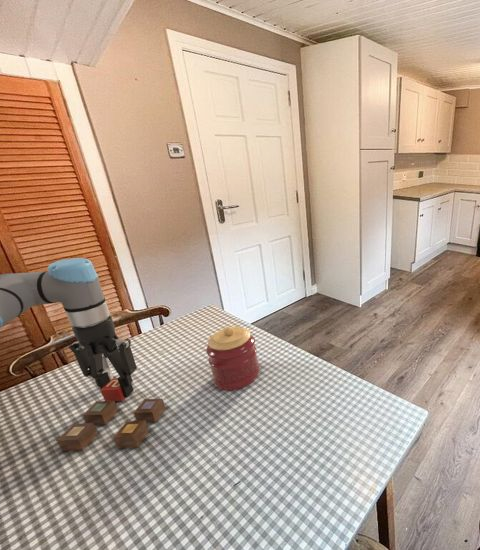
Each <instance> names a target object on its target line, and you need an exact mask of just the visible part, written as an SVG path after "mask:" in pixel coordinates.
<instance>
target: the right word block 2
mask: <svg viewBox="0 0 480 550" xmlns="http://www.w3.org/2000/svg"><path fill="white" fill-rule="evenodd" d="M165 405H166V404H165V403H164V400H163V398H144V399H143V400H142V401H141V403H140V404H139V405H138V406H137V407H136V409H135V410H134V411H133V415H134V419H135V421H145V420H146V423H147V424H148V423H149V424H150V423H157V421H158V420H159V419H160V417H161V416H162V415H163V413H164V411H165V410H166V406H165Z"/></svg>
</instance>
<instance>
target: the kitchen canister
mask: <svg viewBox="0 0 480 550" xmlns="http://www.w3.org/2000/svg"><path fill="white" fill-rule="evenodd" d="M255 343H256V340H255V337H254V335H253V334H251V331H250V329H248V328H245V327H241V326H229V325H228V326H226V327H224V328H221V329H219V330H218V331H216V332H215V333H214V334H212V335H211V336H210V337H209V338H208V341H207V347H206V350H205V351H206V355H207V356H208V364H209V366H210V370H211V374H212V381H213V383H214V385H215V387H216V388H218V389H219V390H222V391H226V392H227V391H228V392H229V391H231V392H232V391H237V390H241V389H244V388H246V387H247V386H250V384H252V383H253V382H255V381H256V379H258V377H259V374H260V364H259V361H258V354H257V347H256V345H255Z"/></svg>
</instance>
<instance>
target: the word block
mask: <svg viewBox="0 0 480 550" xmlns="http://www.w3.org/2000/svg"><path fill="white" fill-rule="evenodd" d="M98 434H99V433H98V431H97V428H96V425H94V424H93V423H86V422H84V423H73V424H72V425H71V426H70V427H69V428H68V429H67V430H66V431H65V432H63V434H62V435H60V436H59V438H57V439H56V442H57V444H58V445H59V447H60V449H61V451H62V452H76V451H77V452H78V451H84V450H85V449H86V448H87V447H88V446H89V445H90V443H92V441H93V440H94V439H95V438H96V436H98Z"/></svg>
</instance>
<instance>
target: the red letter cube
mask: <svg viewBox="0 0 480 550" xmlns="http://www.w3.org/2000/svg"><path fill="white" fill-rule="evenodd" d="M117 378H118V377H113V378H112V379H111V380H110V381H109V382H108V383H107V384H106V385H105V386H104V387H103V388H102V389H100V392H101V395H102V397H103V401H115V402H123V401H124V400H125V399H126V398H124V395H123V392H122V389H121V387H120V384H119V382H118V379H117Z"/></svg>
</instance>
